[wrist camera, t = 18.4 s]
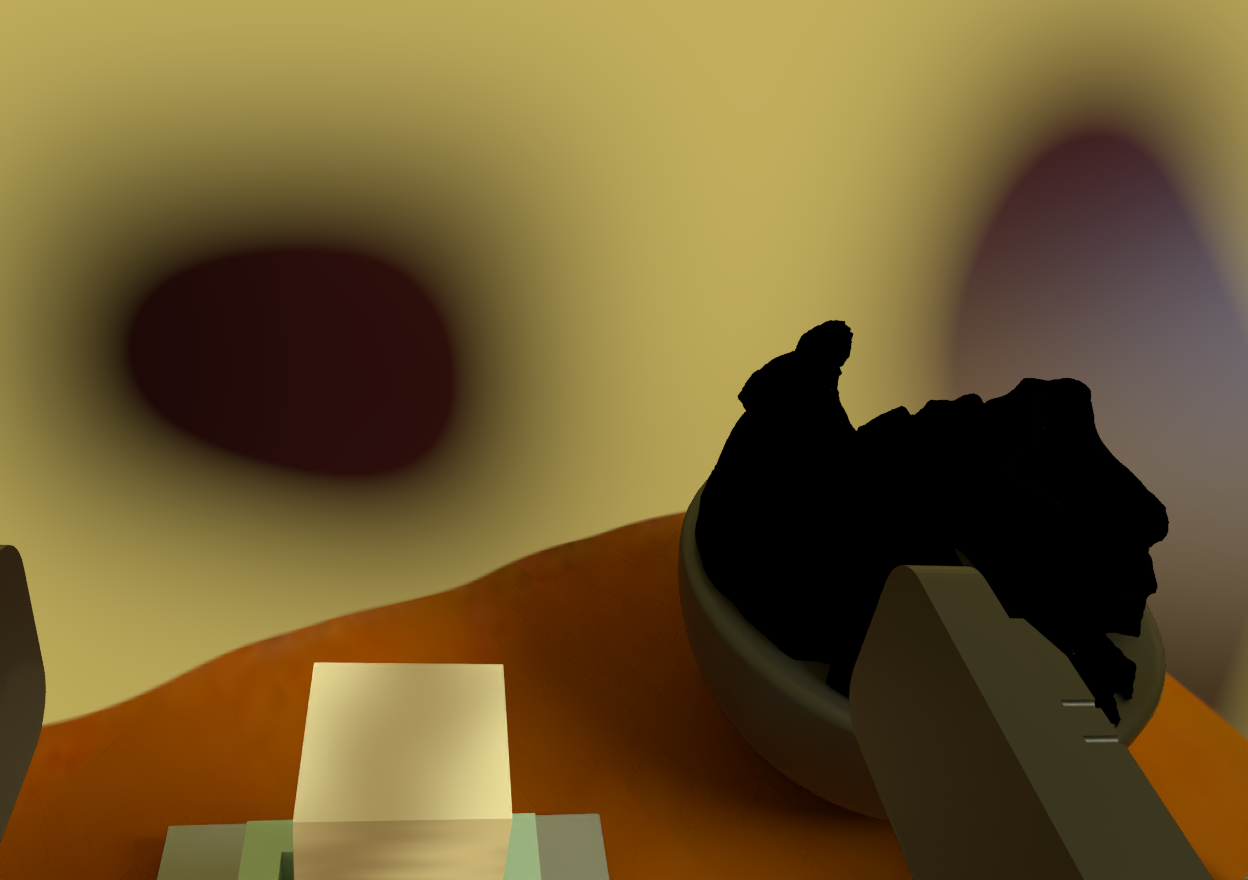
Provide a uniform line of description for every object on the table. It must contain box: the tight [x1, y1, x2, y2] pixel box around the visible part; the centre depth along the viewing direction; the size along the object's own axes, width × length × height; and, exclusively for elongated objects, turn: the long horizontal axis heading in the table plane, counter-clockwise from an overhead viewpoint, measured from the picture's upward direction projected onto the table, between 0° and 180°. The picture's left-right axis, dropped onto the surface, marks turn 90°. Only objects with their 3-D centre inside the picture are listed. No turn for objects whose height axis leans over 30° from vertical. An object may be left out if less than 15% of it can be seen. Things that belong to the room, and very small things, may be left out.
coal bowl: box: [678, 320, 1169, 822], centre depth 46 cm, size 20×20×19 cm
